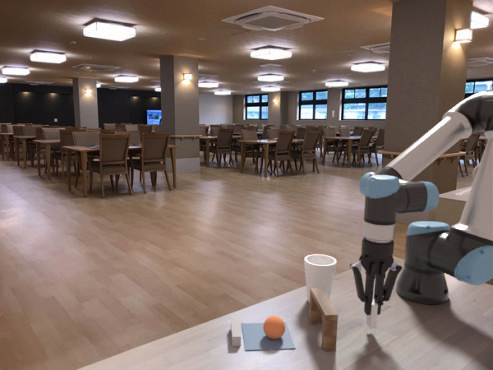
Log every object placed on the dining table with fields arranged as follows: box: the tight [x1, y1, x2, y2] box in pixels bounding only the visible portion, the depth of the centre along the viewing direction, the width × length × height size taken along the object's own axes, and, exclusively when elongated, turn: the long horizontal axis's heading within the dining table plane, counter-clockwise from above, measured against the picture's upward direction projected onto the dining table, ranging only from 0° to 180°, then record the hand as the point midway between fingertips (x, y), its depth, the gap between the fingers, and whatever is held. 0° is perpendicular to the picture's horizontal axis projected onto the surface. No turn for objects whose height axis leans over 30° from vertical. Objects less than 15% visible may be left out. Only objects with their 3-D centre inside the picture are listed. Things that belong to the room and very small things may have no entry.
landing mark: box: [241, 321, 296, 352], centre depth 102 cm, size 12×12×1 cm
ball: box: [263, 315, 285, 339], centre depth 101 cm, size 6×6×6 cm
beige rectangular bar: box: [230, 319, 242, 347], centre depth 101 cm, size 2×8×2 cm, turn 5°
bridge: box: [308, 288, 339, 352], centre depth 103 cm, size 3×14×9 cm, turn 5°
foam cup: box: [303, 253, 338, 304], centre depth 120 cm, size 10×9×13 cm
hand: (371, 325), depth 104 cm, fingers closed
